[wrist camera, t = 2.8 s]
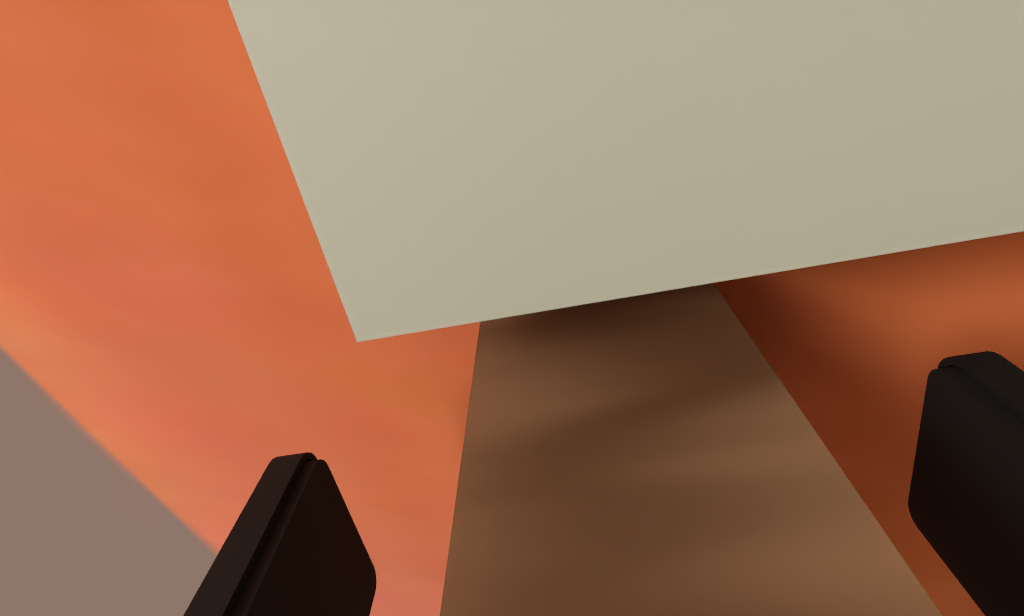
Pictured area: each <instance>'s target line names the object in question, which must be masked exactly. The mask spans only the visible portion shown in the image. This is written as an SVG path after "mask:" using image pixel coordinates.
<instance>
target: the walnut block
mask: <svg viewBox="0 0 1024 616" xmlns="http://www.w3.org/2000/svg"><path fill="white" fill-rule="evenodd" d="M440 616H942V614H941V613H940V611H939V610H938V608H937V607H936V605H935V604H934V603H933V601H932V600H931V598H930V597H929V595H928V594H927V592H926V591H925V590H924V588H923V587H922V585H921V584H920V582H919V581H918V579H917V578H916V576H915V575H914V574H913V572H912V571H911V569H910V568H909V566H908V565H907V563H906V562H905V560H904V559H903V558H902V556H901V555H900V553H899V552H898V550H897V549H896V547H895V546H894V545H893V543H892V542H891V540H890V539H889V537H888V536H887V534H886V533H885V531H884V530H883V529H882V527H881V526H880V524H879V523H878V521H877V520H876V518H875V517H874V515H873V514H872V513H871V511H870V510H869V508H868V507H867V505H866V504H865V502H864V501H863V500H862V498H861V497H860V495H859V494H858V492H857V491H856V489H855V488H854V486H853V485H852V484H851V482H850V481H849V479H848V478H847V476H846V475H845V473H844V472H843V470H842V469H841V468H840V466H839V465H838V463H837V462H836V460H835V459H834V457H833V456H832V455H831V453H830V452H829V450H828V449H827V447H826V446H825V444H824V443H823V441H822V440H821V439H820V437H819V436H818V434H817V433H816V431H815V430H814V428H813V427H812V425H811V424H810V423H809V421H808V420H807V418H806V417H805V415H804V414H803V412H802V411H801V410H800V408H799V407H798V405H797V404H796V402H795V401H794V399H793V398H792V396H791V395H790V394H789V392H788V391H787V389H786V388H785V386H784V385H783V383H782V382H781V380H780V379H779V378H778V376H777V375H776V373H775V372H774V370H773V369H772V367H771V366H770V365H769V363H768V362H767V360H766V359H765V357H764V356H763V354H762V353H761V351H760V350H759V349H758V347H757V346H756V344H755V343H754V341H753V340H752V338H751V337H750V335H749V334H748V333H747V331H746V330H745V328H744V327H743V325H742V324H741V322H740V321H739V320H738V318H737V317H736V315H735V314H734V312H733V311H732V309H731V308H730V306H729V305H728V304H727V302H726V301H725V299H724V298H723V296H722V295H721V293H720V292H719V290H718V289H717V288H716V286H715V285H714V283H709V284H703V285H697V286H691V287H685V288H679V289H673V290H667V291H661V292H655V293H649V294H643V295H637V296H631V297H625V298H619V299H613V300H607V301H601V302H595V303H589V304H583V305H577V306H571V307H565V308H559V309H553V310H547V311H541V312H535V313H529V314H523V315H517V316H511V317H505V318H499V319H493V320H487V321H481V322H480V328H479V336H478V343H477V350H476V357H475V365H474V372H473V379H472V386H471V394H470V401H469V408H468V416H467V423H466V430H465V437H464V445H463V452H462V459H461V466H460V474H459V481H458V488H457V495H456V503H455V510H454V517H453V524H452V532H451V539H450V546H449V553H448V561H447V568H446V575H445V582H444V590H443V597H442V604H441V611H440Z"/></svg>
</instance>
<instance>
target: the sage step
mask: <svg viewBox="0 0 1024 616" xmlns="http://www.w3.org/2000/svg"><path fill="white" fill-rule="evenodd" d="M228 2H229V5H230V8H231V10H232V13H233V16H234V18H235V21H236V24H237V26H238V29H239V31H240V34H241V37H242V39H243V42H244V45H245V47H246V50H247V53H248V55H249V58H250V61H251V63H252V66H253V68H254V71H255V74H256V76H257V79H258V82H259V84H260V87H261V90H262V92H263V95H264V98H265V100H266V103H267V105H268V108H269V111H270V113H271V116H272V119H273V121H274V124H275V127H276V129H277V132H278V134H279V137H280V140H281V142H282V145H283V148H284V150H285V153H286V156H287V158H288V161H289V164H290V166H291V169H292V171H293V174H294V177H295V179H296V182H297V185H298V187H299V190H300V193H301V195H302V198H303V201H304V203H305V206H306V208H307V211H308V214H309V216H310V219H311V222H312V224H313V227H314V230H315V232H316V235H317V237H318V240H319V243H320V245H321V248H322V251H323V253H324V256H325V259H326V261H327V264H328V267H329V269H330V272H331V274H332V277H333V280H334V282H335V285H336V288H337V290H338V293H339V296H340V298H341V301H342V303H343V306H344V309H345V311H346V314H347V317H348V319H349V322H350V325H351V327H352V330H353V333H354V335H355V338H356V340H357V342H361V341H367V340H373V339H379V338H385V337H391V336H397V335H403V334H409V333H415V332H421V331H427V330H433V329H439V328H445V327H451V326H457V325H463V324H469V323H475V322H481V321H487V320H493V319H499V318H505V317H511V316H517V315H523V314H529V313H535V312H541V311H547V310H553V309H559V308H565V307H571V306H577V305H583V304H589V303H595V302H601V301H607V300H613V299H619V298H625V297H631V296H637V295H643V294H649V293H655V292H661V291H667V290H673V289H679V288H685V287H691V286H697V285H703V284H709V283H715V282H721V281H727V280H733V279H739V278H745V277H751V276H757V275H763V274H769V273H775V272H781V271H787V270H793V269H799V268H805V267H811V266H817V265H823V264H829V263H835V262H841V261H847V260H853V259H859V258H865V257H871V256H877V255H883V254H889V253H895V252H901V251H907V250H913V249H919V248H925V247H931V246H937V245H943V244H949V243H956V242H962V241H968V240H974V239H980V238H986V237H992V236H998V235H1004V234H1010V233H1016V232H1022V231H1024V0H228Z"/></svg>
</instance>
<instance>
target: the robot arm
mask: <svg viewBox="0 0 1024 616" xmlns="http://www.w3.org/2000/svg"><path fill="white" fill-rule="evenodd" d="M908 506H909V511H910V514H911V517H912V519H913V521H914V523H915V524H916V526H917V527H918V529H919V530H920V531H921V533H922V534H923V535H924V537H925V538H926V539H927V541H928V542H929V543H930V544H931V546H932V547H933V548H934V550H935V551H936V552H937V553H938V555H939V556H940V557H941V559H942V560H943V561H944V563H945V564H946V565H947V566H948V568H949V569H950V570H951V572H952V573H953V574H954V576H955V577H956V578H957V579H958V581H959V582H960V583H961V585H962V586H963V587H964V589H965V590H966V591H967V592H968V594H969V595H970V596H971V598H972V599H973V600H974V602H975V603H976V604H977V605H978V607H979V608H980V609H981V611H982V612H983V613H984V615H985V616H1024V372H1023V371H1022V370H1021V369H1019V368H1018V367H1016V366H1015V365H1014V364H1012V363H1011V362H1009V361H1008V360H1007V359H1005V358H1004V357H1002V356H1001V355H999V354H997V353H995V352H989V351H986V352H979V353H972V354H966V355H959V356H952V357H947V358H945V359H943V360H942V361H941V362H940V363H939V366H938V369H935V370H932V371H931V372H930V373H929V376H928V380H927V386H926V392H925V399H924V405H923V411H922V417H921V424H920V430H919V436H918V442H917V449H916V455H915V461H914V467H913V474H912V480H911V486H910V492H909V498H908ZM375 590H376V573H375V569H374V566H373V564H372V562H371V559H370V557H369V555H368V553H367V550H366V548H365V546H364V544H363V542H362V539H361V537H360V535H359V533H358V531H357V528H356V526H355V524H354V522H353V520H352V517H351V515H350V513H349V511H348V509H347V506H346V504H345V502H344V500H343V498H342V495H341V493H340V491H339V489H338V487H337V484H336V482H335V480H334V478H333V475H332V473H331V471H330V469H329V467H328V465H327V463H326V462H325V461H324V460H317V458H316V457H315V455H313V454H312V453H308V452H307V453H300V454H293V455H287V456H280V457H276V458H274V459H272V461H271V462H270V463H269V465H268V466H267V468H266V470H265V472H264V473H263V475H262V477H261V479H260V481H259V482H258V484H257V486H256V488H255V489H254V491H253V493H252V495H251V497H250V498H249V500H248V502H247V504H246V505H245V507H244V509H243V511H242V513H241V514H240V516H239V518H238V520H237V521H236V523H235V525H234V527H233V529H232V530H231V532H230V534H229V536H228V537H227V539H226V541H225V543H224V545H223V546H222V548H221V550H220V552H219V553H218V555H217V557H216V559H215V561H214V563H213V564H212V566H211V568H210V569H209V571H208V573H207V575H206V577H205V579H204V580H203V582H202V584H201V586H200V587H199V589H198V591H197V593H196V595H195V596H194V598H193V600H192V601H191V603H190V605H189V607H188V609H187V610H186V612H185V614H184V616H369V614H370V611H371V607H372V603H373V599H374V595H375Z"/></svg>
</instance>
